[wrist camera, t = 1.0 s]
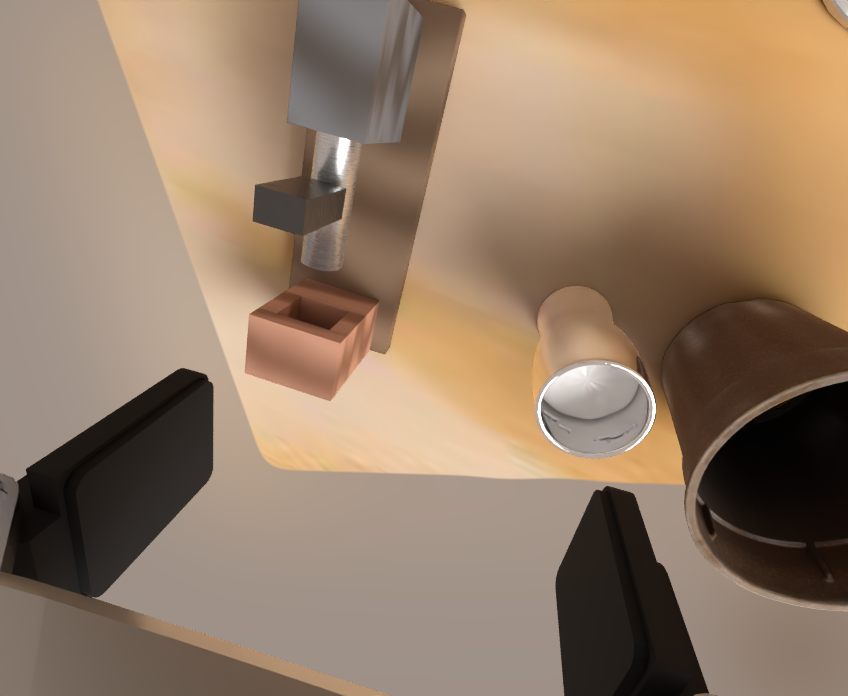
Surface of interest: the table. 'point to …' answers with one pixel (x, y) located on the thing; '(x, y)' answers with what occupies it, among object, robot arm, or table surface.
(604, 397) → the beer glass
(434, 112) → the tube rig
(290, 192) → the tube
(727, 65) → the table surface
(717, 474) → the plant pot
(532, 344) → the table surface
